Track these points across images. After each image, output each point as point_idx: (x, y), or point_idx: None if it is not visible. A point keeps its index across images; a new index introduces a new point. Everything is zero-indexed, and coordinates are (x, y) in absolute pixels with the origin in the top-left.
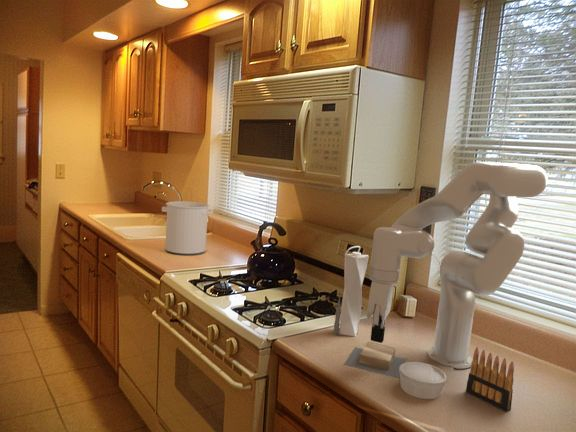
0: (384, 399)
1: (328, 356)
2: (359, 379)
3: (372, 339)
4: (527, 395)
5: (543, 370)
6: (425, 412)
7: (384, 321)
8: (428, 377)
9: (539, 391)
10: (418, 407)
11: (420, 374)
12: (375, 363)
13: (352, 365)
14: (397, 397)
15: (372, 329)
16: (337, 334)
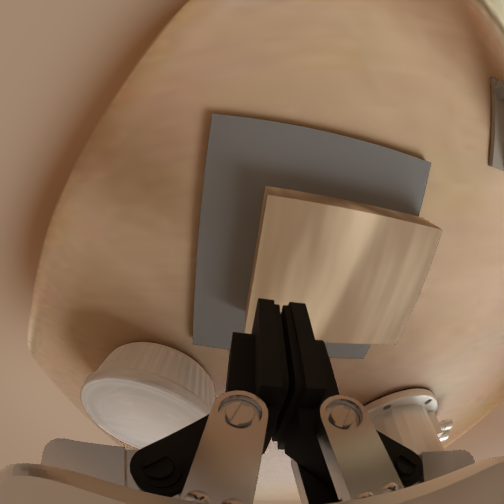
0: (58, 291)
1: (299, 37)
2: (125, 203)
3: (256, 313)
4: (256, 484)
5: None
6: (74, 370)
7: (298, 486)
8: (120, 428)
9: (277, 490)
10: (81, 362)
11: (123, 417)
12: (253, 267)
13: (218, 157)
14: (88, 324)
15: (257, 366)
16: (500, 95)
